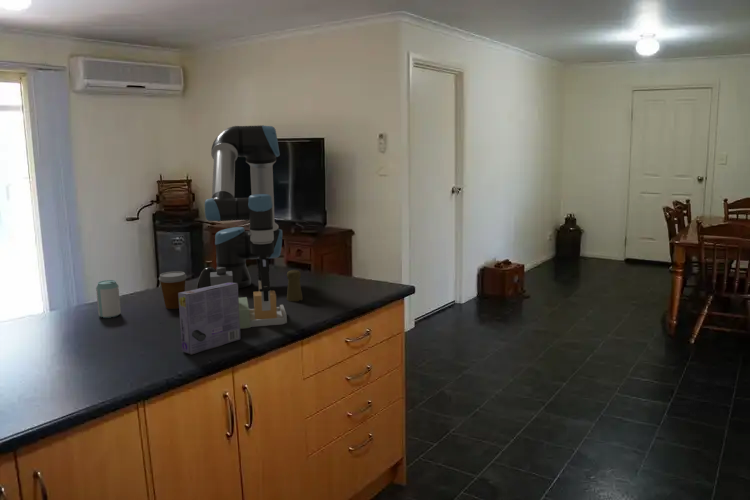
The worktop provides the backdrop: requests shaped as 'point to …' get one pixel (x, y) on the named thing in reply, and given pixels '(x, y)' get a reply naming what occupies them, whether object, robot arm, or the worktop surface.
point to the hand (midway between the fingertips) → (264, 304)
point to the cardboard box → (258, 306)
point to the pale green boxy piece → (246, 303)
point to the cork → (294, 286)
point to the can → (108, 299)
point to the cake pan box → (209, 317)
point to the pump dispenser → (205, 278)
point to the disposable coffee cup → (172, 287)
